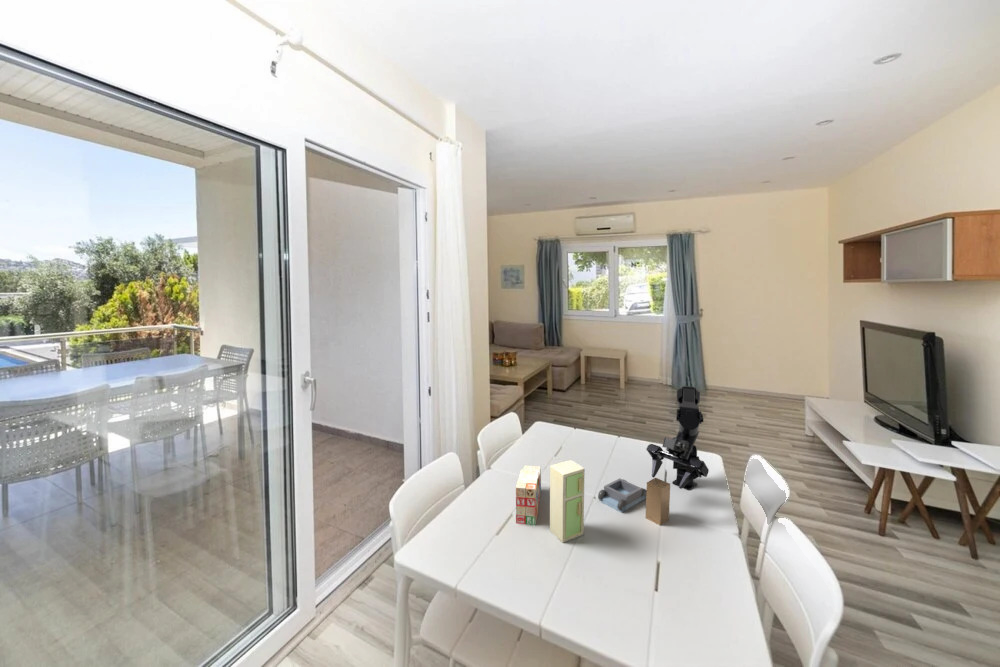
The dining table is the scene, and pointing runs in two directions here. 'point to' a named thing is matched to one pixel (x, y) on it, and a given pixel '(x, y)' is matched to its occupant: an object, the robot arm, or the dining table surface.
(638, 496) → the chassis
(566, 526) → the toy refrigerator
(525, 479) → the stack of blocks
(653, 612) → the dining table surface
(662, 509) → the tall tan wooden block
